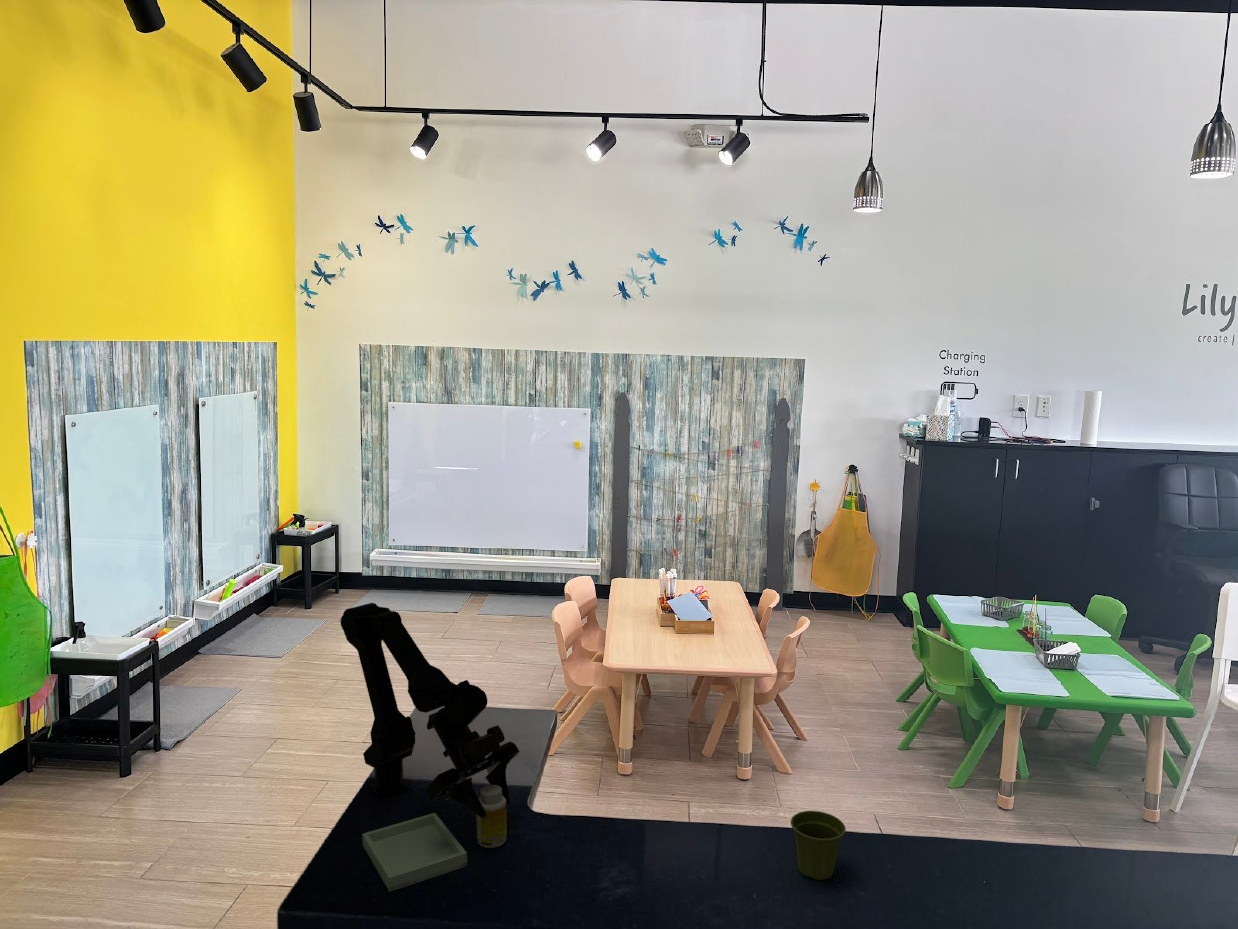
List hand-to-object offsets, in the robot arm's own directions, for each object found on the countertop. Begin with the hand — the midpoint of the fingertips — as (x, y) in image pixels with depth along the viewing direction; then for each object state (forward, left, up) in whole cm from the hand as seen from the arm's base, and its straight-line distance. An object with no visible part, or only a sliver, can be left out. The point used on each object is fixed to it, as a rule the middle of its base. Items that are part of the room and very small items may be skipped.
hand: (496, 810), depth 159 cm
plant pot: (+38, +45, -7) cm, 59 cm away
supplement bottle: (-1, 0, -7) cm, 7 cm away
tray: (-4, -14, -7) cm, 16 cm away
